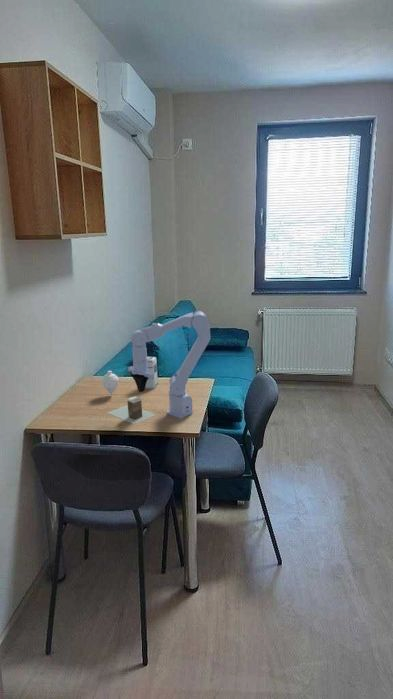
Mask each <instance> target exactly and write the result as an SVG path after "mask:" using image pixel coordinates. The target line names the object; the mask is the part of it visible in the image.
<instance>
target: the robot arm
mask: <svg viewBox="0 0 393 699" xmlns="http://www.w3.org/2000/svg"><path fill="white" fill-rule="evenodd" d="M182 327H186V328H189V329H191V328H192V327H193V329H194V330H195V331H196V334H197V338H196V339H195V342H194V343H193V345H192V346H191V349H190V350H189V352H188V354H187V355H186V356H185V359H184V360H183V362H182V364H181V365H180V367H179V368H178V370H176V372H175V373H174V374H173V375H172V376H171V377H170V379H169V391H168V399H169V409H168V410H167V411H165V413H166V414H168V415H171V416H172V417H176V418H179V419H183V418H185V417H188V416H189V415H191V414H194V413H195V412H194V411H193V410H194V409H193V399H192V397H191V396H190V395H189V394H188V393H187V390H186V385H187V384H188V381H189V377H190V376H191V373H192V372H193V370H194V369H195V367H196V365H197V363H198V362H199V360H200V358H201V356H202V355H203V353H204V351H205V350H206V348H207V347H208V344H209V343H210V341H211V325H210V322H209V319H208V317H207V315H206V313H205V312H203V311H201V310H196V311H194V312H189V313H186V314H185V315H181V316H179V317H177V318H175V319H172V320H170V321H167V322H165V323H163V324H161V323H159V322H157V323H156V322H153V323H151V325H148V326H146V327H140V329H136V330H135V331H133V332H132V335H131V338H130V339H131V343H132V345H131V346H132V365H130V366H128V367H127V372H129V373H130V372H131V374H132V378H133V380H134V382H135V385H136V388H137V391H138V392H139V393H143V392H145V390H146V388H145V386H146V382H147V380H148V378H149V379H152V378H154V373H152V372H150V371H149V370H148V369H147V357H148V353H147V350H148V348H147V343H150V342H152V341H155V340H157V339H160V338H162V337H164V336H165V333H167V332H170V331H172V330H176V329H179V328H182Z"/></svg>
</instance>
